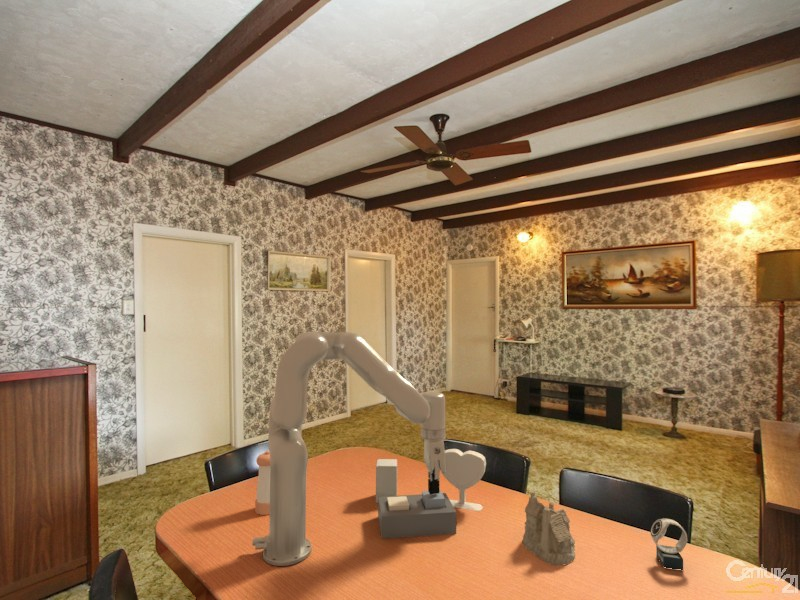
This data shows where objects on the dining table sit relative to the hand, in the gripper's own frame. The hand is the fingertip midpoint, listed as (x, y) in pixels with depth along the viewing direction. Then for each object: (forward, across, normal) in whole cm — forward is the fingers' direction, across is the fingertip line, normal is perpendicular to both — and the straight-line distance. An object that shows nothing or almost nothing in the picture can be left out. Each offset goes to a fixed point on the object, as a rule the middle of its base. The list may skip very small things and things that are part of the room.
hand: (433, 492), depth 128 cm
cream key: (+7, 0, +11) cm, 13 cm away
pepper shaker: (+9, +16, +53) cm, 56 cm away
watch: (+10, -28, -56) cm, 64 cm away
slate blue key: (+6, 0, 0) cm, 6 cm away
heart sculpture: (+10, +11, -12) cm, 19 cm away
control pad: (+9, 0, +6) cm, 11 cm away
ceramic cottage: (+10, -16, -30) cm, 36 cm away
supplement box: (+10, +19, +13) cm, 25 cm away
